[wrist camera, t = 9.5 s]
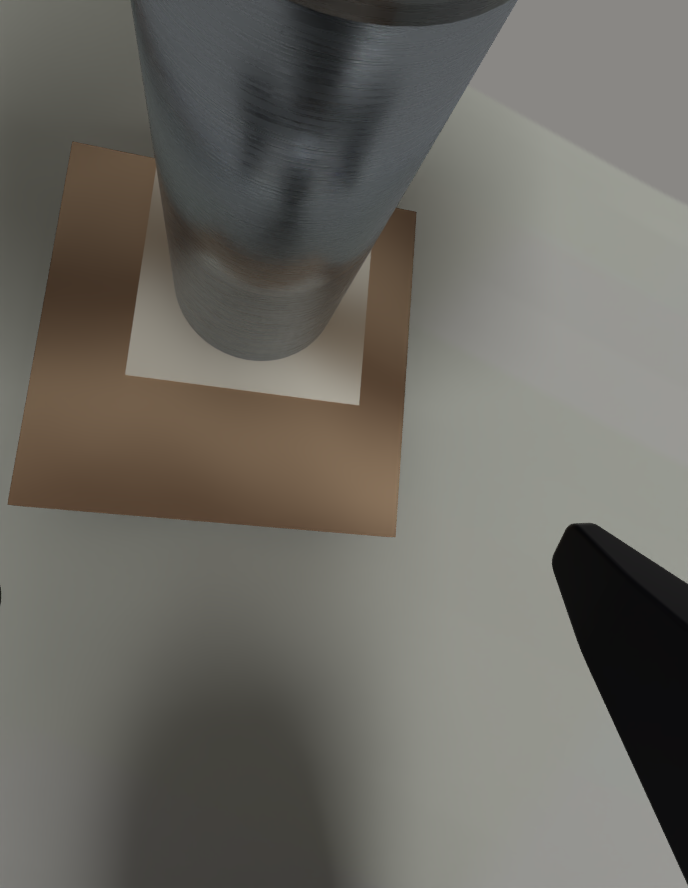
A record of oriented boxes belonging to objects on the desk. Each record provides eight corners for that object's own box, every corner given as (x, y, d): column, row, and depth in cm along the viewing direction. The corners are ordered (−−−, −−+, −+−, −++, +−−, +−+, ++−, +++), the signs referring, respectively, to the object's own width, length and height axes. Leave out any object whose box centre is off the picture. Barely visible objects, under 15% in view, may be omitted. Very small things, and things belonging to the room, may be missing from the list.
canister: (357, 345, 18) (692, -57, 6) (194, 380, 17) (146, -46, 4) (314, 194, 18) (536, -504, 6) (151, 216, 17) (-8, -624, 5)
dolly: (371, 536, 20) (396, 537, 17) (39, 508, 18) (5, 504, 15) (391, 251, 22) (417, 210, 19) (92, 194, 20) (71, 139, 17)
